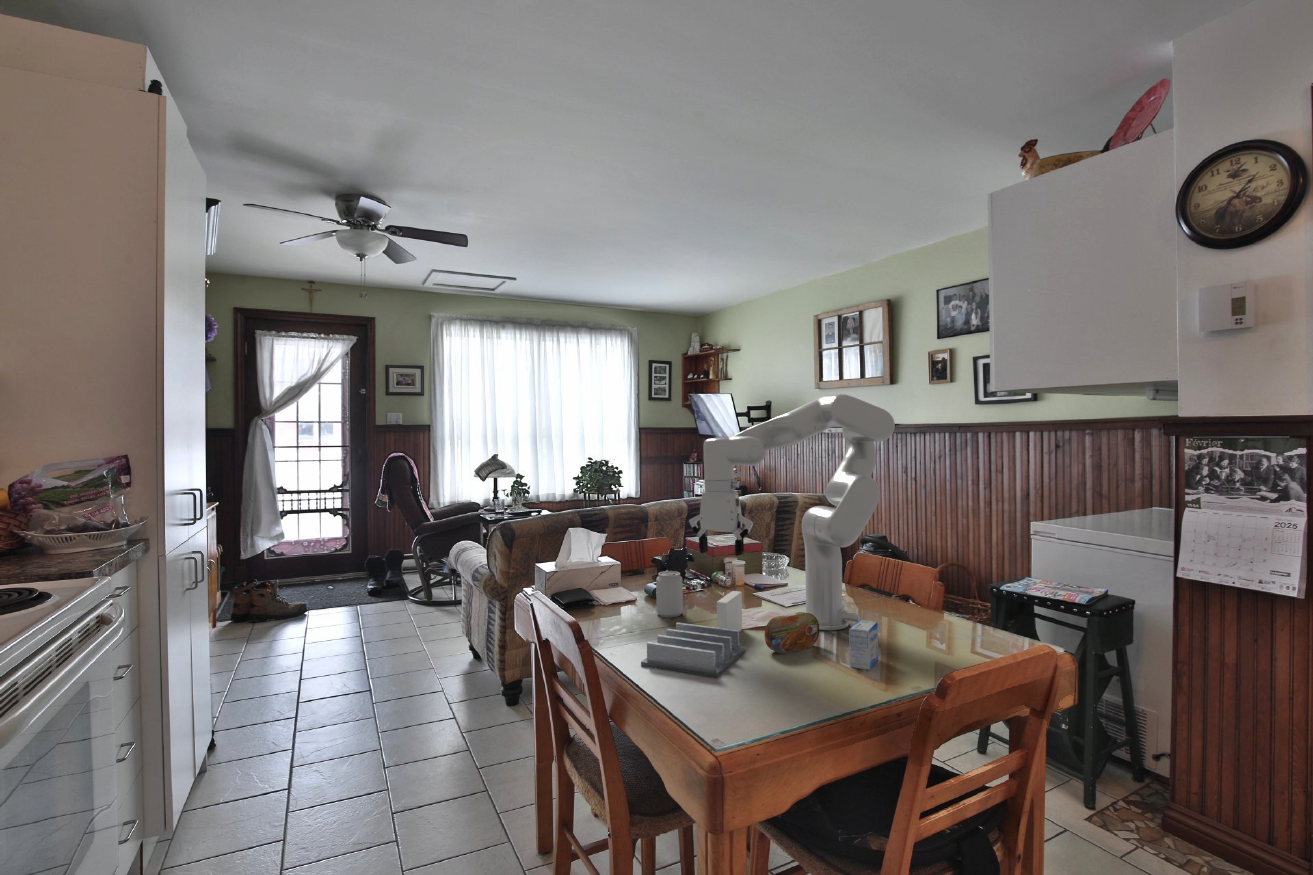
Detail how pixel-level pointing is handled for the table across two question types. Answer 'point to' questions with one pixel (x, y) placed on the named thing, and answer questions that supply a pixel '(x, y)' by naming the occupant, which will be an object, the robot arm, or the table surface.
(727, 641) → the dish rack
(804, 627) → the tin
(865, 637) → the medicine box
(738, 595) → the cream white block
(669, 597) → the can
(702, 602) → the table surface
